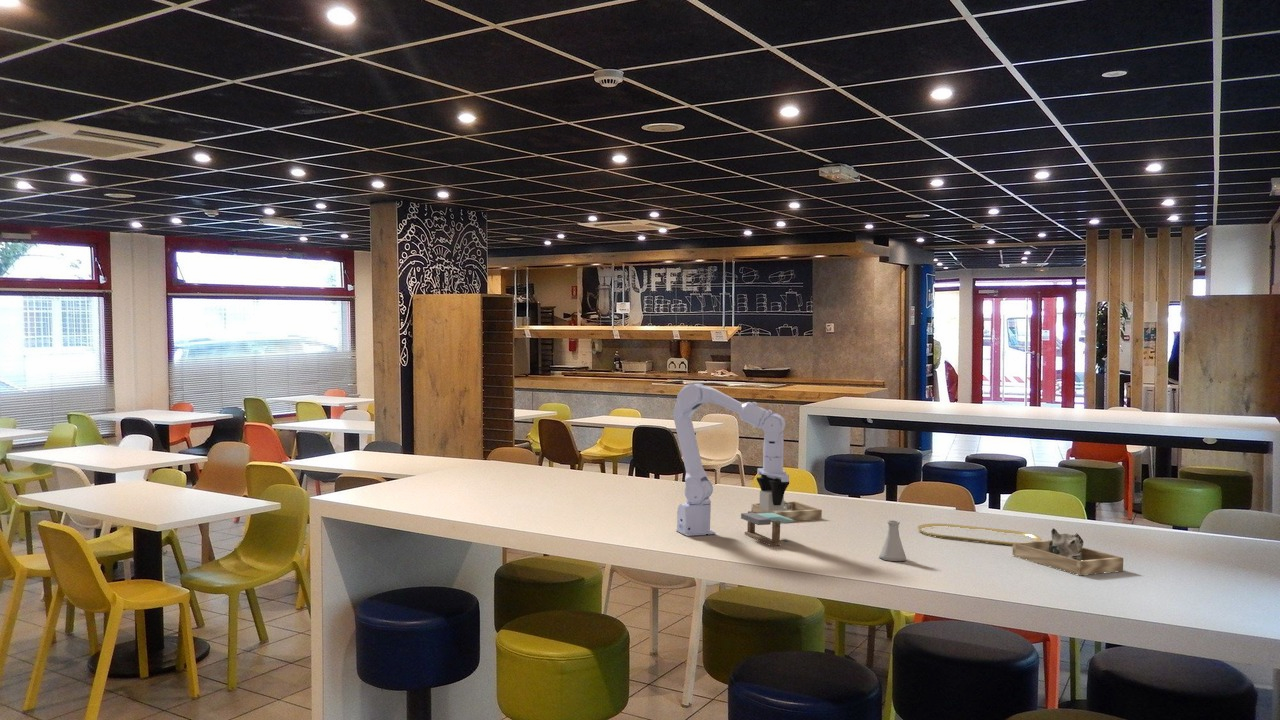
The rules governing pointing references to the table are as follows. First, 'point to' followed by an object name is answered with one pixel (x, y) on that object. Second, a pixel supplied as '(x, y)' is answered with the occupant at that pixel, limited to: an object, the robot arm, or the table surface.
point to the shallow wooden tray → (1089, 565)
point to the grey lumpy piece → (1066, 545)
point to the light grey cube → (769, 501)
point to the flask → (893, 544)
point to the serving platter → (975, 538)
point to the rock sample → (786, 507)
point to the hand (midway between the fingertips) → (772, 503)
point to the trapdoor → (764, 518)
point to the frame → (773, 541)
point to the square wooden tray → (798, 511)
